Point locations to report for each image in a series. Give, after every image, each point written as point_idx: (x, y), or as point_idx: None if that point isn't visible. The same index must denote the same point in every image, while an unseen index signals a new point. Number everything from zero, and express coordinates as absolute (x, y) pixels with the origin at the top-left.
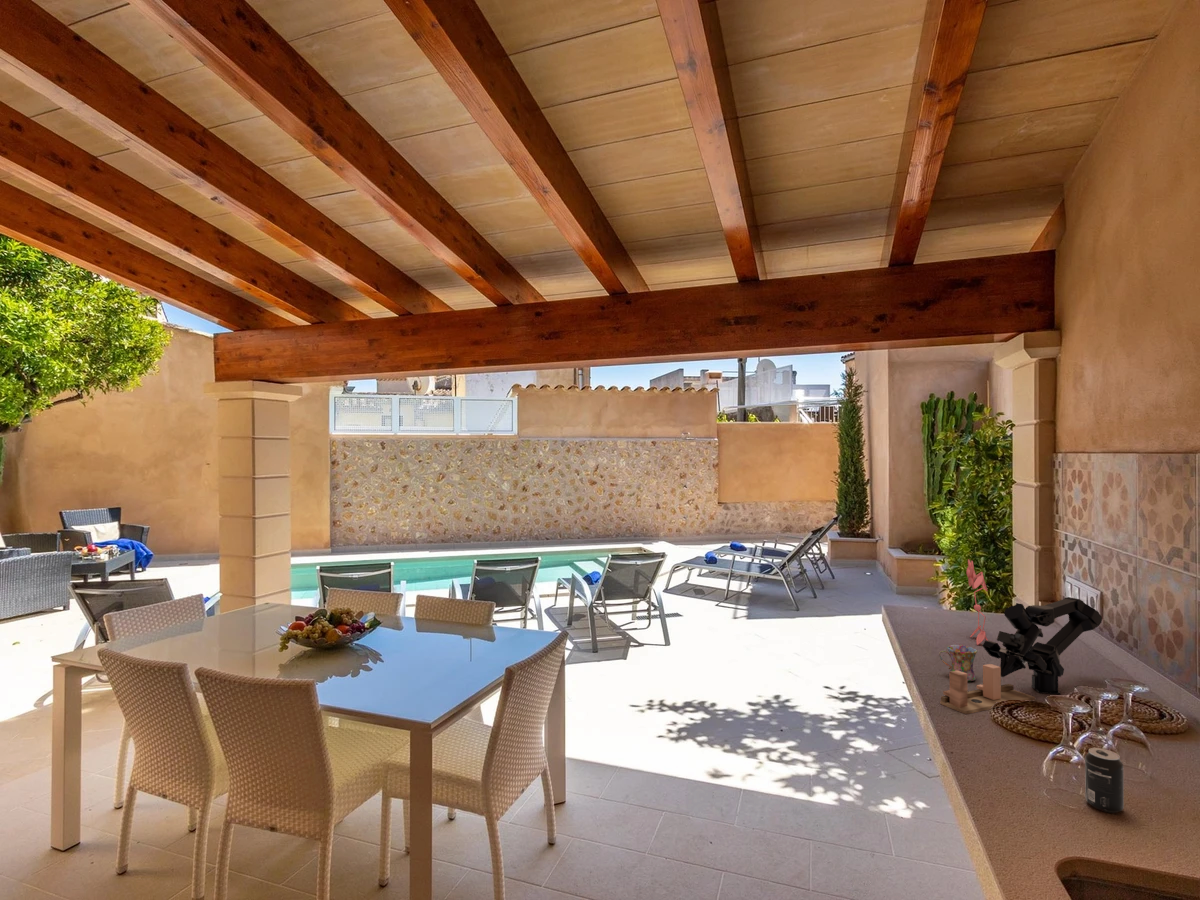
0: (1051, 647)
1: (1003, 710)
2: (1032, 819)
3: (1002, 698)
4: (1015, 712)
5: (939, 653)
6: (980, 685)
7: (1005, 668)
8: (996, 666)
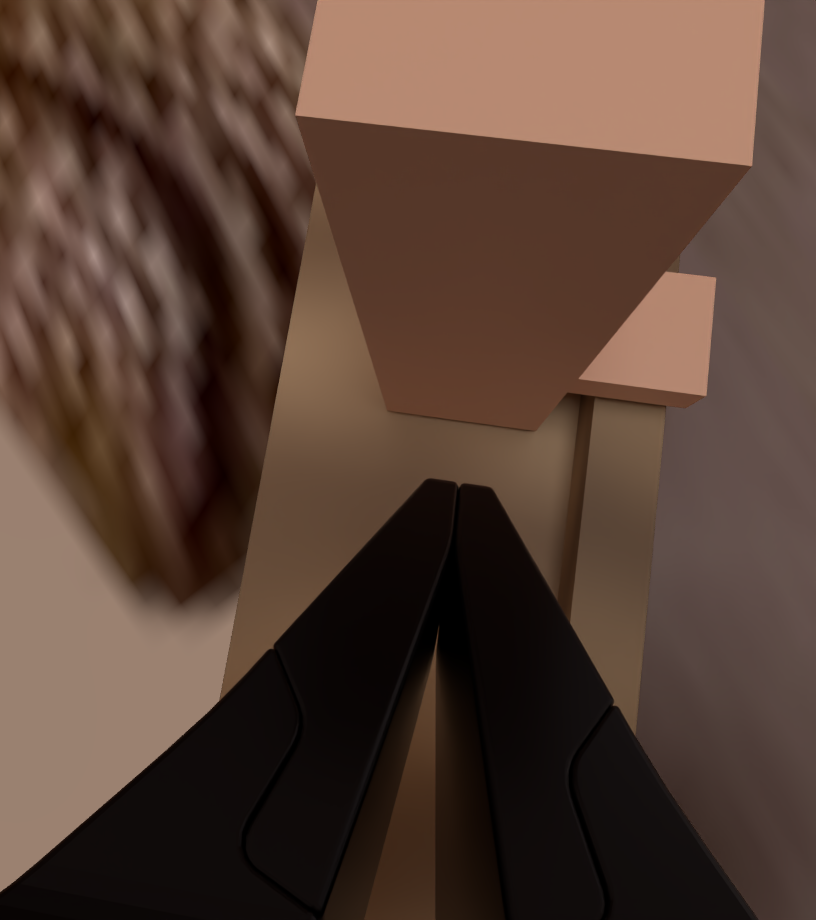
0: None
1: (247, 206)
2: None
3: (393, 465)
4: (145, 261)
5: None
6: (674, 316)
7: (368, 599)
8: (428, 56)
